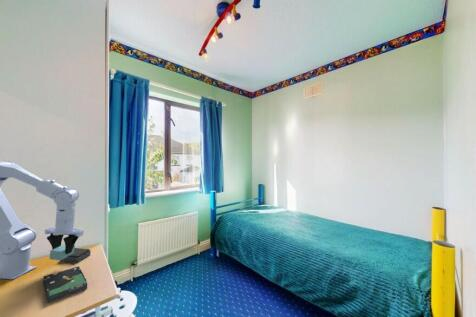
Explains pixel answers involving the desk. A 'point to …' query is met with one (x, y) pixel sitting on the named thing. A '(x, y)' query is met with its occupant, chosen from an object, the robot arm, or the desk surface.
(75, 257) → the stand
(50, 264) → the desk surface
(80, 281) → the disk drive
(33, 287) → the desk surface
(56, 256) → the block
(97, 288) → the desk surface
